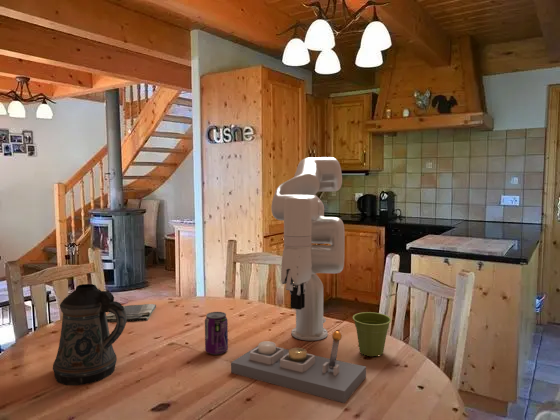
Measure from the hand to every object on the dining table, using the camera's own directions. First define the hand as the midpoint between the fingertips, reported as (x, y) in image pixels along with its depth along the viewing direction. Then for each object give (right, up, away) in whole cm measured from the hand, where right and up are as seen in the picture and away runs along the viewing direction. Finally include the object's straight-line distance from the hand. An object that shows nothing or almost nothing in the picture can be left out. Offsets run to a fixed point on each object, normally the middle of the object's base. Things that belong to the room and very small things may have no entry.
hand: (297, 307), depth 120 cm
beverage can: (-25, -18, +18) cm, 36 cm away
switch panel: (0, -19, +1) cm, 19 cm away
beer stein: (-59, -19, +4) cm, 62 cm away
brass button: (0, -14, +1) cm, 14 cm away
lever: (+9, -16, -4) cm, 19 cm away
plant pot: (+24, -18, +17) cm, 34 cm away
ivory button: (-9, -14, +6) cm, 17 cm away
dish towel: (-65, -16, +56) cm, 88 cm away
